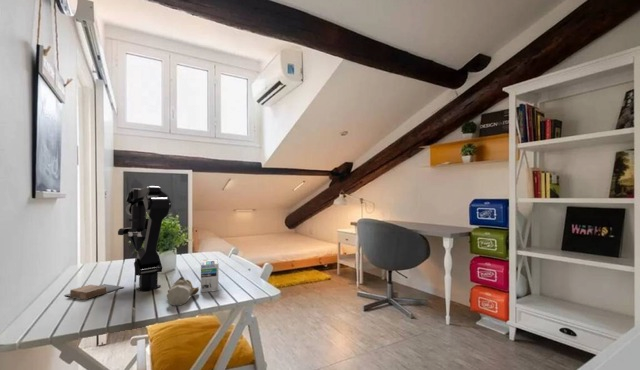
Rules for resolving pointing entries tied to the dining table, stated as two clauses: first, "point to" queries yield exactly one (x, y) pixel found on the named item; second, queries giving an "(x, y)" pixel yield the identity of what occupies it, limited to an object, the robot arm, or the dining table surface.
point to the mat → (108, 289)
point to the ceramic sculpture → (181, 292)
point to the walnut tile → (88, 291)
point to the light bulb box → (209, 275)
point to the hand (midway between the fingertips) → (138, 251)
